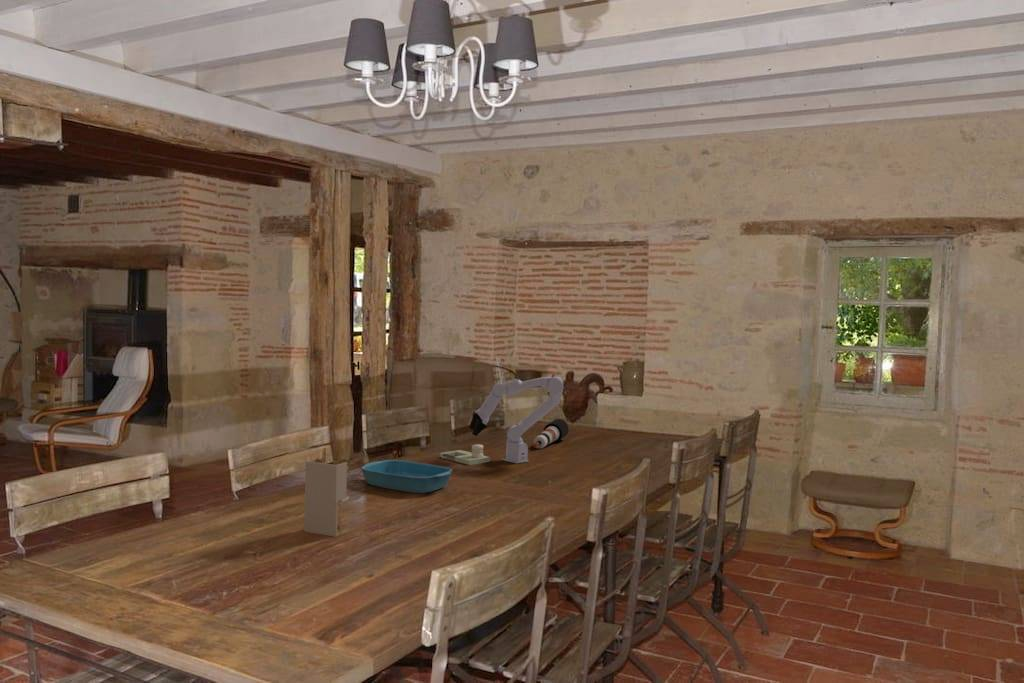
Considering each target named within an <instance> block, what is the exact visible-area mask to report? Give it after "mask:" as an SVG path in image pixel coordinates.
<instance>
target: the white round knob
mask: <svg viewBox="0 0 1024 683" xmlns="http://www.w3.org/2000/svg"><path fill="white" fill-rule="evenodd" d="M471 453H472V457H474V458H482V457H483V456H484V444H479V443H478V444H472V445H471Z"/></svg>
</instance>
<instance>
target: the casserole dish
mask: <svg viewBox="0 0 1024 683" xmlns="http://www.w3.org/2000/svg"><path fill="white" fill-rule="evenodd" d="M361 471H362V474H363V477H364V479H365V481H366V482H367V483H368V484H369V485H370V486H374V487H378V488H384V489H389V490H394V491H398V492H399V491H400V492H401V491H402V492H406V493H412V494H427V493H431V492H435V491H436V490H440V489H442V488H444V487H445V486H446V485H447V484H448V483H449V480H450V479H451V475H452V472H453V468H451V467H448V466H443V465H436V464H429V463H424V462H423V463H422V462H416V461H408V460H400V459H388V460H387V459H386V460H380V461H379V460H378V461H371V462H368V463H365V464H364V465H363V466H362V467H361Z"/></svg>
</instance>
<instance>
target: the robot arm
mask: <svg viewBox="0 0 1024 683" xmlns="http://www.w3.org/2000/svg"><path fill="white" fill-rule="evenodd" d="M535 387H543V388H545V389H547V388H548V390H549V394H548V396H549V397H548V398H547V399H546V400H545V401H544V402H543V403H541V404H540V405H539V406H538V407H536V409H534V410H533V411H532V412H531V413H529V414H528V415H527V416H525V417H524V418H523V419H522V420H520V421H519V422H518V423H515V424H512V425H511V426H510V427H509V429H508V430H507V432H506V437H507V438H506V443H505V444H506V447H505V449H506V450H505V458H501V461H503V462H510V463H512V464H513V463H514V464H521V463H527V462H529V461H530V460H529V459H528V454H529V450H528V449H529V447H528V444H527V443H525V442H524V440H523V438H522V436H523V434H524V433H526V432H527V431H528V430H529V429H530V428H531V427H532V426H533V425H534V424H536V423H537V422H538V421H540V420H541V419H542V418H543V417H544V416H546V415H547V414H548V413H550V411H552V410H553V409H555V407H558V405H559V404H560V402H561V398H562V395H563V391H564V388H565V386H564V380H563V378H562V377H561V376H559V375H554V376H541V377H537V378H533V379H528V380H524V381H522V380H521V379H519V378H518V379H517V378H512V380H509V381H508V380H507V381H506V380H502V382H497V383H495V384H494V385H493V387H492V390H490V392H489V394H488V395H487V396H486V397H485V399H484V401H483V402H482V404H481V406H480V408H477V410H474V411H473V412H472V418H471V421H470V424H469V427H468V428H469V429H470V430H472V435H474V436H475V437H477V436H478V435H479V434H480V433H481V432H482V431H483V430H485V429H486V428H487V429H488V427H489V425H488V423H489V420H490V416H491V415H492V414H493V412H494V411H495V409H496V407H497V406H498V405H499V403H500V400H501V398H502V397H503V396H504V395H512V394H516V393H517V394H518V393H522V392H523V390H524V389H528V388H535Z"/></svg>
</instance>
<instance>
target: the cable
mask: <svg viewBox="0 0 1024 683" xmlns="http://www.w3.org/2000/svg"><path fill="white" fill-rule="evenodd" d="M568 434H569V424H568V423H567V422H566V421H565V420H564V419H561V418H556V419H554V420H552V421H551V422H549V423H547V424H546V425H545V426H544V428H543V431H541V432H540V433H539V434H538V435H537V436H536V437H534V440H533V445H532V447H534V449H535V448H536V449H544V448H545V447H547V446H548V445H550V444H552V443H554V444H555V443H558V442H560V441H561V440H563V439H564V438H565V437H566V436H567V435H568Z"/></svg>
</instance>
